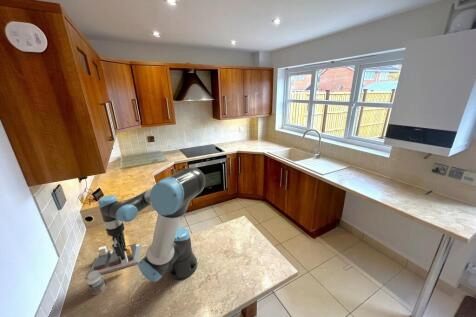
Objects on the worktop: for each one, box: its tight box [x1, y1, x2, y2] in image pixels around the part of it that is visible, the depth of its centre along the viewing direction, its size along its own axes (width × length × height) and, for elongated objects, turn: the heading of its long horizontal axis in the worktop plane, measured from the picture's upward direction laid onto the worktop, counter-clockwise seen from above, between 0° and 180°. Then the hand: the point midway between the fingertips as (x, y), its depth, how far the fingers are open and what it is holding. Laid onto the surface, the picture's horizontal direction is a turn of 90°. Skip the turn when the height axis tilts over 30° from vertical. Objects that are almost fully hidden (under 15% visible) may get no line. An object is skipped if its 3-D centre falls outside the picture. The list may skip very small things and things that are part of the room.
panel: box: [88, 243, 143, 276], centre depth 111 cm, size 16×24×8 cm, turn 110°
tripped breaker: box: [125, 245, 132, 256], centre depth 109 cm, size 2×3×4 cm
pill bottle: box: [86, 270, 106, 296], centre depth 92 cm, size 6×6×10 cm
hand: (125, 262), depth 102 cm, fingers closed
